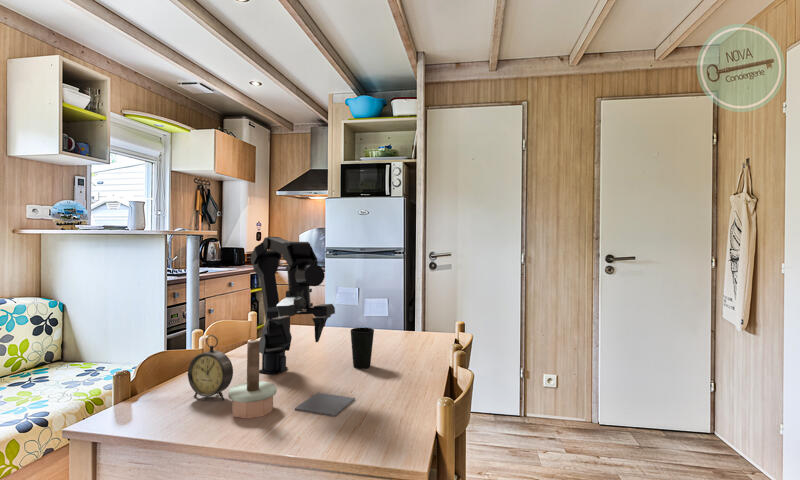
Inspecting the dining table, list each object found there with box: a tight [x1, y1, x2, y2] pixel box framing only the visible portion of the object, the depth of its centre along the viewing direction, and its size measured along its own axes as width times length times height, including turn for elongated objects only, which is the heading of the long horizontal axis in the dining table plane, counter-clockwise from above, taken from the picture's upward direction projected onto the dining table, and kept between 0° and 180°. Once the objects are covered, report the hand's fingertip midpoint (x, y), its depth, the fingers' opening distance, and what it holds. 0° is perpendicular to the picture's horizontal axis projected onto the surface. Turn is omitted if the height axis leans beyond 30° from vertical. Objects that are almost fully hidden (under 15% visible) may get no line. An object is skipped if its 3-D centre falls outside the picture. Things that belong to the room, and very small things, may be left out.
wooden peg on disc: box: [227, 339, 278, 402], centre depth 101 cm, size 11×11×12 cm
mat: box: [294, 392, 356, 417], centre depth 104 cm, size 11×11×1 cm
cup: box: [350, 326, 375, 370], centre depth 136 cm, size 8×8×12 cm
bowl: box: [231, 395, 274, 419], centre depth 101 cm, size 9×9×4 cm
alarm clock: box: [187, 334, 234, 401], centre depth 108 cm, size 11×5×16 cm, turn 75°
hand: (302, 342), depth 116 cm, fingers open, 9 cm apart
